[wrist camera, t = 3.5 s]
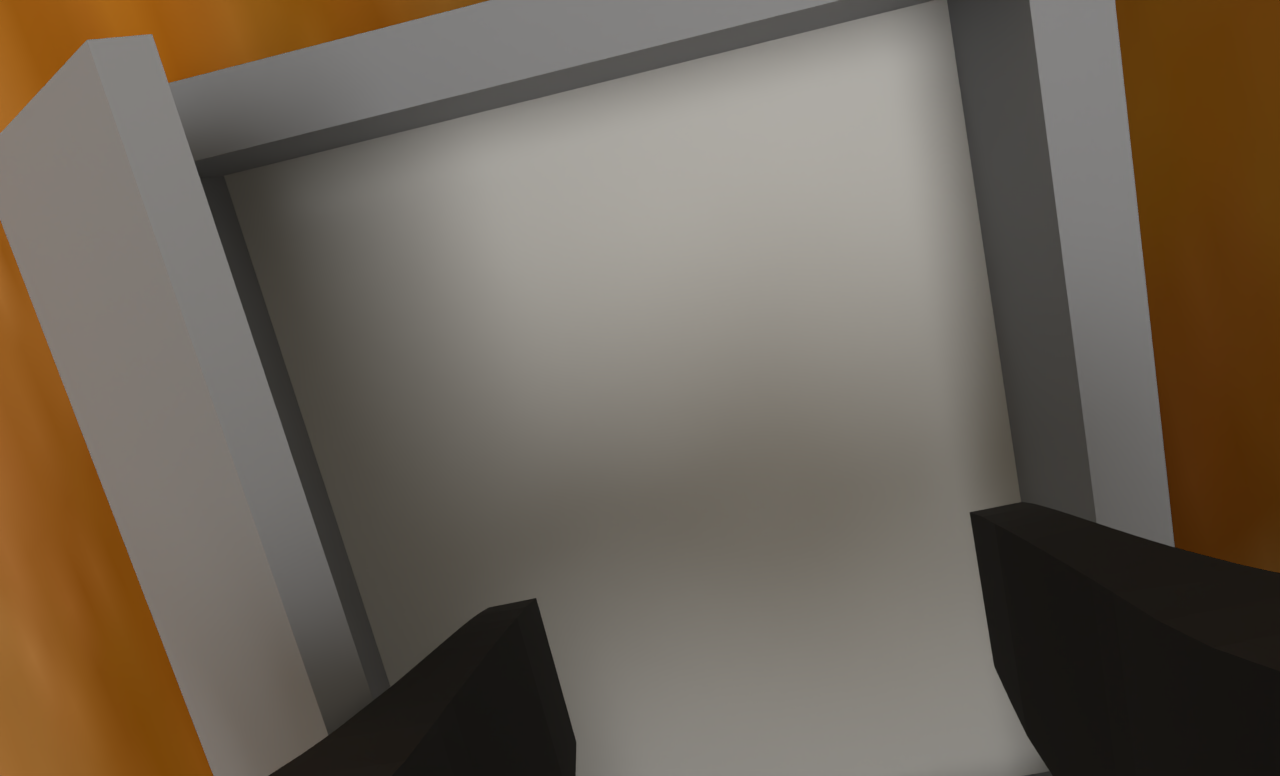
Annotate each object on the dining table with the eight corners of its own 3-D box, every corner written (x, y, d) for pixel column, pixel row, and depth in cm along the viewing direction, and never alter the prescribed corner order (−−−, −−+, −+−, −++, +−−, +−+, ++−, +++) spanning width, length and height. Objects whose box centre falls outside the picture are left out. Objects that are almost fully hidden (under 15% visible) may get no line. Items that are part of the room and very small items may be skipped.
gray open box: (989, -79, 15) (1097, -156, 11) (1106, 784, 19) (1218, 949, 15) (166, 129, 16) (8, 124, 13) (426, 902, 20) (365, 1082, 16)
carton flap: (152, 34, 8) (87, 40, 8) (591, 1357, 11) (559, 1398, 11) (21, 151, 12) (-23, 159, 12) (364, 1074, 16) (337, 1098, 16)
